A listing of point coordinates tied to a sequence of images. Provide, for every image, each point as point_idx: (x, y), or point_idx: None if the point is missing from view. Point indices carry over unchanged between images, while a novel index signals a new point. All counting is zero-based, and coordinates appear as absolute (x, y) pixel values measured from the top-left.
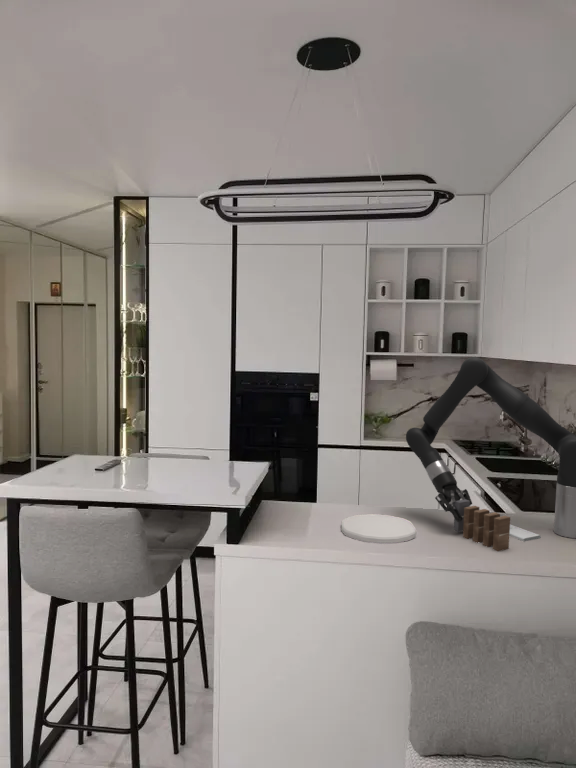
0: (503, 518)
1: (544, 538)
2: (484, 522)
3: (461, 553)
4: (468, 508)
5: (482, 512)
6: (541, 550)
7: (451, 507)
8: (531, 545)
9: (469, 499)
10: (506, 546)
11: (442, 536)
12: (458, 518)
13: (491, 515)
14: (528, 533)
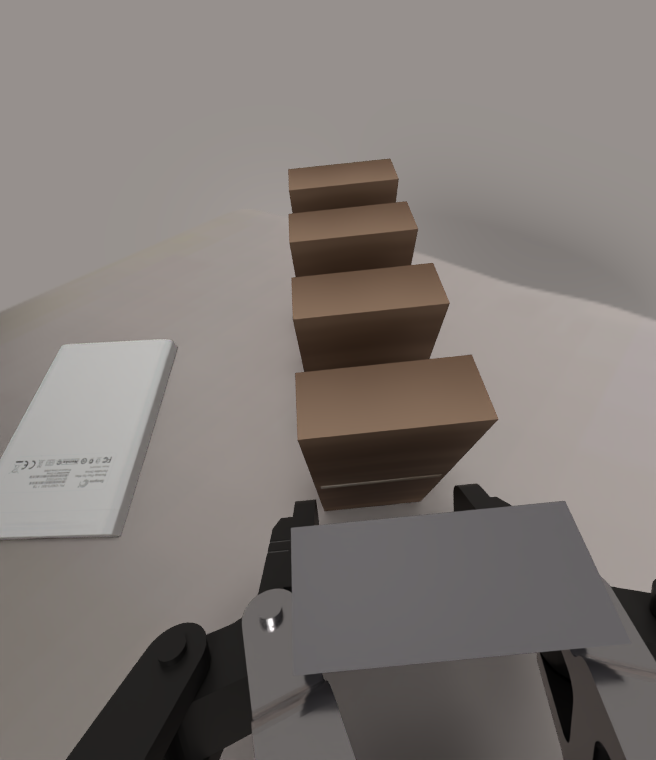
0: (346, 166)
1: (65, 343)
2: None
3: (553, 333)
4: (459, 378)
5: (386, 272)
6: (215, 273)
7: (652, 584)
8: (196, 310)
9: (116, 741)
10: None
11: None
12: (499, 499)
13: (378, 207)
14: (77, 375)
